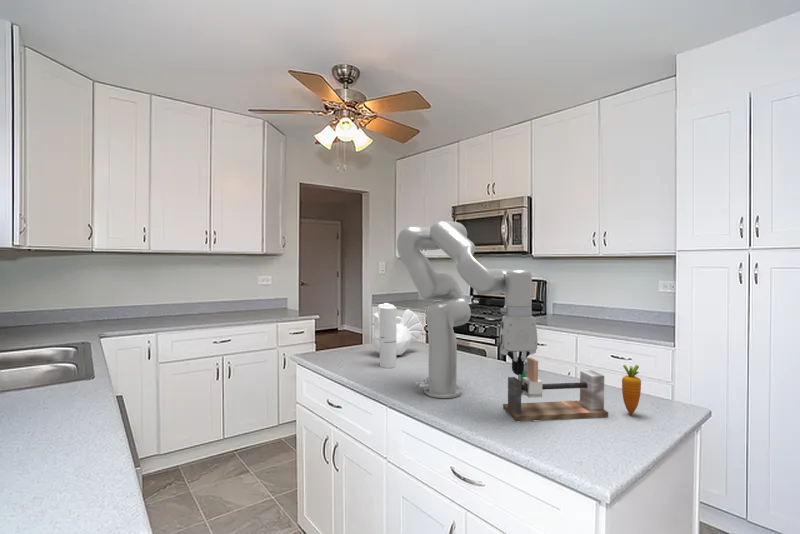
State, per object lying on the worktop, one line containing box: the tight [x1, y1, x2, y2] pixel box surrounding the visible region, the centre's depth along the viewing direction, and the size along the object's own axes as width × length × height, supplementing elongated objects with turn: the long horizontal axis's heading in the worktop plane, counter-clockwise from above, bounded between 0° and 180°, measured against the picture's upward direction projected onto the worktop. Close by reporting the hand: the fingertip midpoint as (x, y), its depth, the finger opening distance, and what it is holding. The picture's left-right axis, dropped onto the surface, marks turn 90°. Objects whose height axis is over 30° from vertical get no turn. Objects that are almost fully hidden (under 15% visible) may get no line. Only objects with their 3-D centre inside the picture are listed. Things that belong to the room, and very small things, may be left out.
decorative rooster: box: [372, 302, 423, 356], centre depth 197 cm, size 25×16×25 cm, turn 102°
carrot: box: [621, 364, 642, 416], centre depth 122 cm, size 5×5×15 cm
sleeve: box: [521, 356, 543, 399], centre depth 122 cm, size 4×5×11 cm
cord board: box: [502, 370, 609, 423], centre depth 123 cm, size 28×10×12 cm, turn 97°
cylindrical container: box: [379, 306, 398, 369], centre depth 176 cm, size 7×7×25 cm
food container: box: [517, 357, 528, 394], centre depth 145 cm, size 12×6×10 cm, turn 168°
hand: (517, 373), depth 121 cm, fingers closed
